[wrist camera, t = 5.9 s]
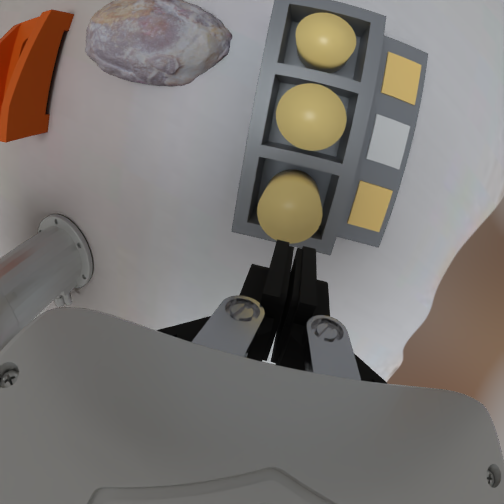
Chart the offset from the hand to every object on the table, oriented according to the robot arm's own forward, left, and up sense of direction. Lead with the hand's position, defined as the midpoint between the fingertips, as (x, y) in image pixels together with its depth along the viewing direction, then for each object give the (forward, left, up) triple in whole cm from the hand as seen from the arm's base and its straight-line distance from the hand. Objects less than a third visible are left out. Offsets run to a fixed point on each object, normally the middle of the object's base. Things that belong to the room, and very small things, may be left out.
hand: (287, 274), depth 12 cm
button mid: (+7, 0, -14) cm, 15 cm away
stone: (+14, +18, -18) cm, 29 cm away
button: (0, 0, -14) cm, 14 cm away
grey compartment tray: (+7, 0, -18) cm, 19 cm away
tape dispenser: (+12, +40, -18) cm, 46 cm away
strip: (+7, -8, -18) cm, 20 cm away
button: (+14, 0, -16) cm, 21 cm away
